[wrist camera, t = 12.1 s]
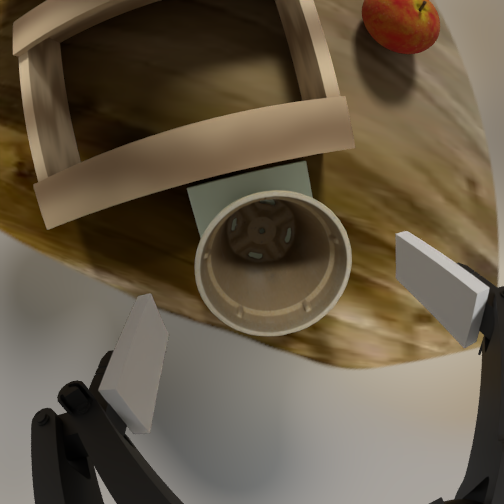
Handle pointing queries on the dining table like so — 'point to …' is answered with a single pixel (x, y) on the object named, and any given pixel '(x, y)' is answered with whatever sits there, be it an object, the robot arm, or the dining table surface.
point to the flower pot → (273, 263)
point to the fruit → (402, 24)
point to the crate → (173, 141)
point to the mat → (246, 191)
